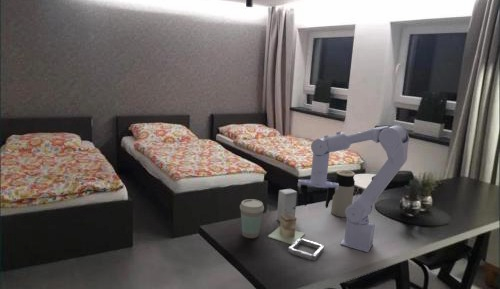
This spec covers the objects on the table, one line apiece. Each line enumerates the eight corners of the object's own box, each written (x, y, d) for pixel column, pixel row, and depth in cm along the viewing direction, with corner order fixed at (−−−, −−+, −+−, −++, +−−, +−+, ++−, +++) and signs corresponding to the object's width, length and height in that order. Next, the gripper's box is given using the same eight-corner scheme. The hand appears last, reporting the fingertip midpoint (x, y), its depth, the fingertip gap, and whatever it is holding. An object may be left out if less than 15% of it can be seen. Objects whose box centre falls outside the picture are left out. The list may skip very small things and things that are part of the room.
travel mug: (354, 216, 156) (359, 174, 151) (338, 218, 153) (343, 176, 148) (343, 209, 163) (347, 169, 159) (327, 210, 160) (331, 170, 156)
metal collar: (324, 249, 127) (324, 245, 127) (314, 261, 119) (314, 256, 119) (299, 241, 132) (299, 237, 131) (287, 252, 124) (288, 248, 123)
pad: (304, 234, 137) (305, 233, 137) (293, 245, 129) (293, 244, 129) (280, 227, 142) (280, 226, 142) (267, 237, 134) (267, 236, 133)
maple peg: (289, 231, 138) (290, 213, 136) (294, 236, 134) (296, 218, 132) (279, 233, 136) (280, 215, 135) (284, 238, 132) (285, 219, 131)
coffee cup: (256, 228, 140) (258, 197, 137) (266, 238, 132) (268, 206, 130) (235, 230, 137) (236, 199, 134) (243, 241, 129) (244, 208, 127)
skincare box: (282, 223, 145) (285, 194, 142) (275, 219, 148) (278, 190, 146) (295, 220, 148) (297, 191, 145) (288, 216, 152) (290, 188, 149)
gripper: (299, 171, 133) (296, 207, 137) (341, 175, 132) (336, 212, 135) (299, 166, 140) (296, 200, 143) (339, 170, 139) (335, 204, 142)
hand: (315, 205), depth 140 cm, fingers open, 7 cm apart
